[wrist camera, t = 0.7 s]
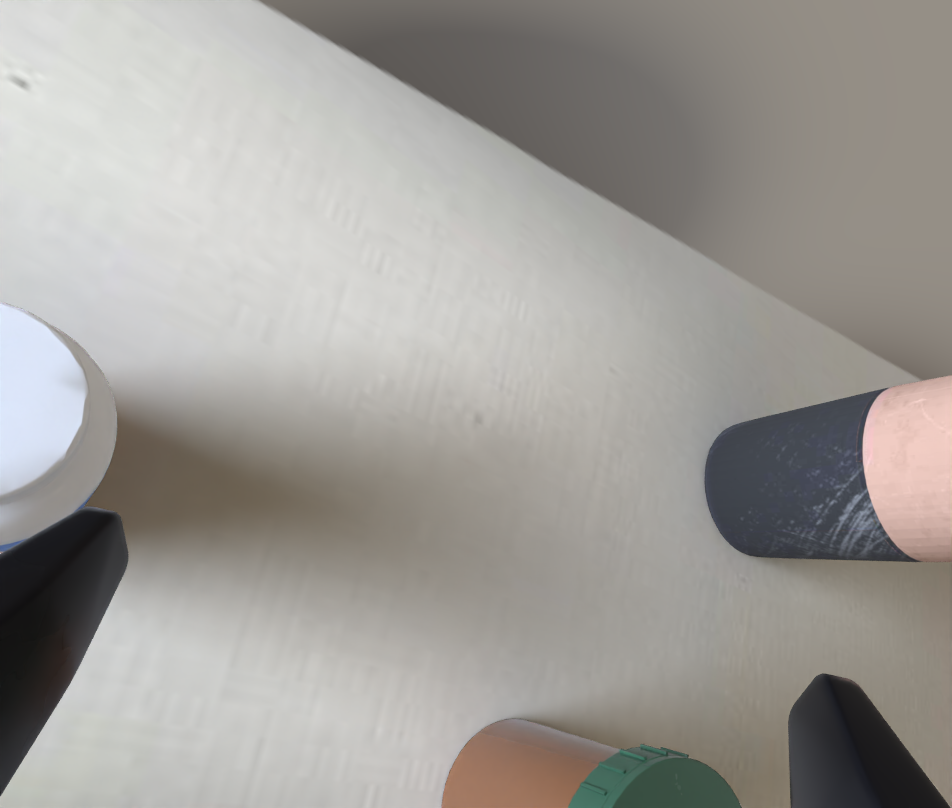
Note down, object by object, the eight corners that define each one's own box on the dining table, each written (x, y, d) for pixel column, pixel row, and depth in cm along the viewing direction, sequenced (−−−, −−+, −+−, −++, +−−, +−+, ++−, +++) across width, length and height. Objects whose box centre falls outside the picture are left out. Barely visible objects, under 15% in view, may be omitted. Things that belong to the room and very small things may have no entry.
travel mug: (812, 535, 41) (1353, 516, 24) (726, 583, 37) (1308, 600, 20) (771, 404, 41) (1279, 296, 25) (682, 437, 37) (1219, 334, 20)
